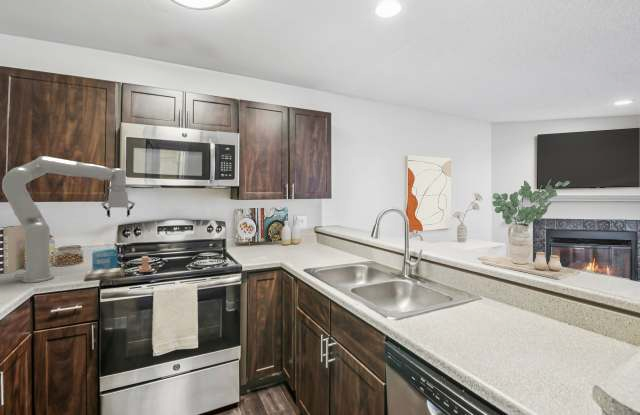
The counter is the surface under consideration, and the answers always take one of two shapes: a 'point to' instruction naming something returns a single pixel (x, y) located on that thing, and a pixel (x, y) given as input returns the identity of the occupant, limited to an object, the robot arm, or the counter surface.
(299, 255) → the counter surface
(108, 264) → the data package
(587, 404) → the counter surface
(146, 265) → the stub
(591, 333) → the counter surface
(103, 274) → the ticket pad
